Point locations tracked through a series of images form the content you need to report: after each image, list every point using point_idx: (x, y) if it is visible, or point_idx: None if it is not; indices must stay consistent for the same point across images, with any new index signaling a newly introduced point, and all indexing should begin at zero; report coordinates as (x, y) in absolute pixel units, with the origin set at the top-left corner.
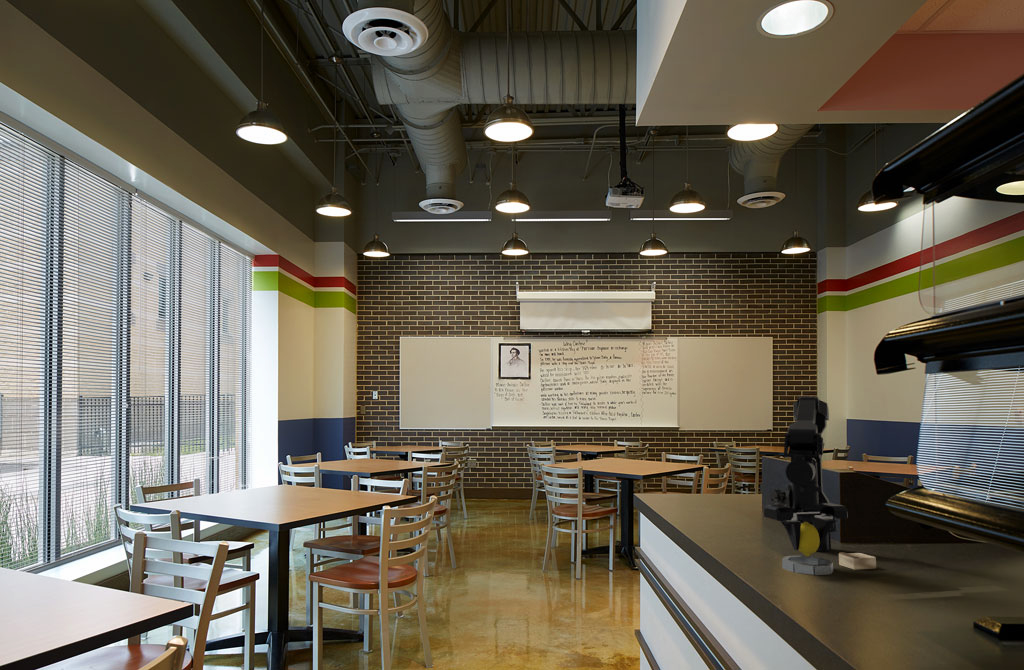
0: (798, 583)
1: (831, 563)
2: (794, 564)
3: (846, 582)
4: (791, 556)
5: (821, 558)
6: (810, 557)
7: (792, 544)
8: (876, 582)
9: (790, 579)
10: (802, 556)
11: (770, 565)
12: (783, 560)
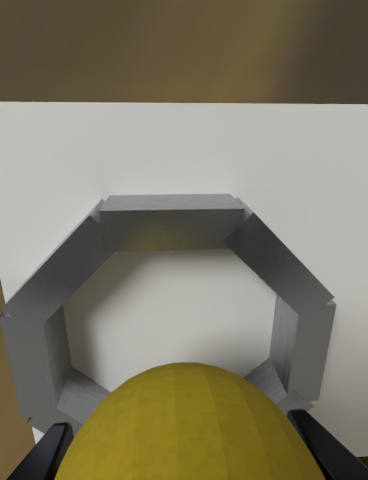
0: (13, 445)
1: None
2: (28, 420)
3: None
4: (141, 228)
5: (322, 321)
6: (270, 282)
7: (21, 469)
8: (361, 458)
9: (10, 388)
10: (233, 243)
11: (57, 54)
12: (2, 328)
